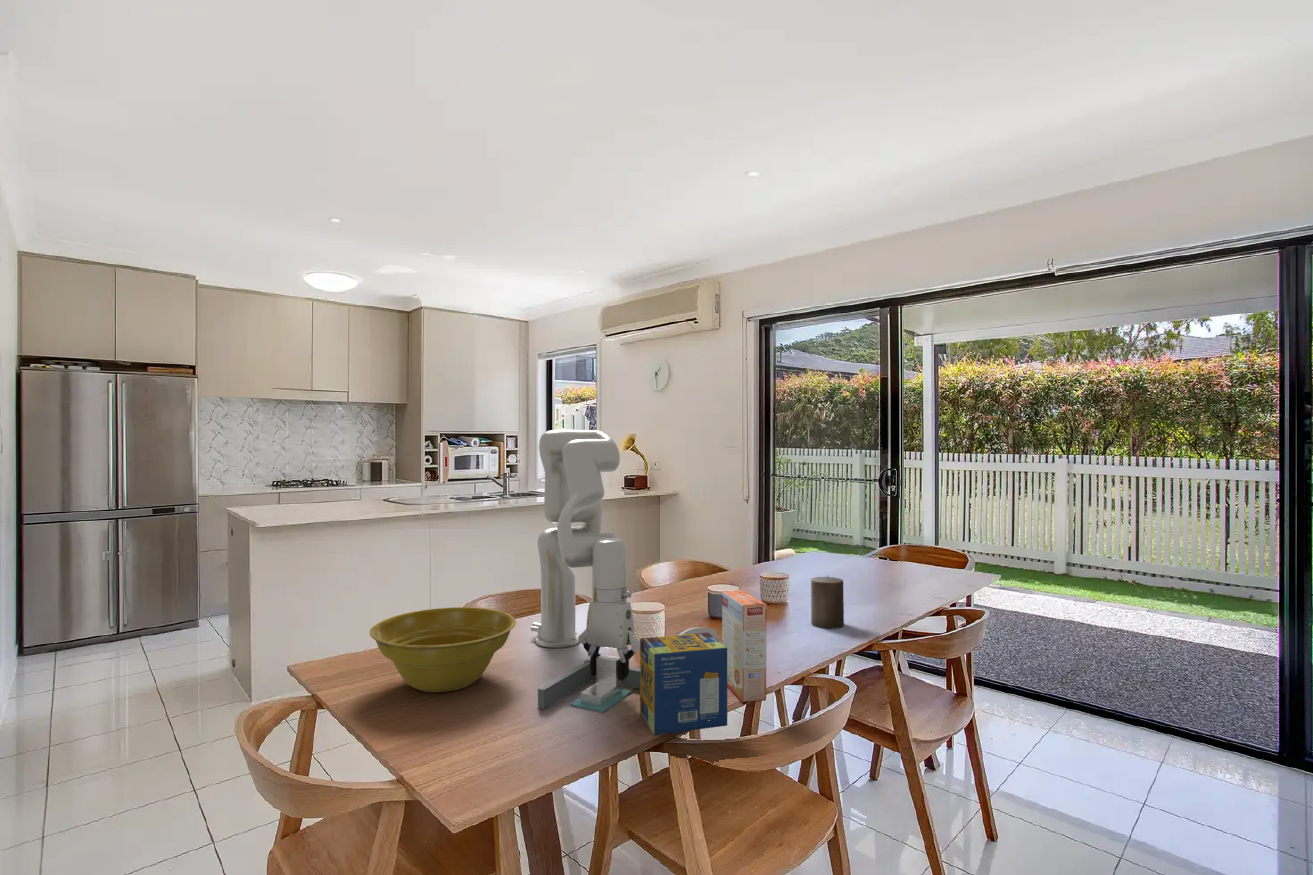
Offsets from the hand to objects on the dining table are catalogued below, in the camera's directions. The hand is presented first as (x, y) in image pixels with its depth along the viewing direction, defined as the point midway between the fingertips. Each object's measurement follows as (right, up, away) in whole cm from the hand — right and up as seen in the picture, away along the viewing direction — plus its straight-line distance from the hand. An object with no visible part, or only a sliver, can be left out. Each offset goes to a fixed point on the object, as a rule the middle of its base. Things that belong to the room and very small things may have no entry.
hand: (609, 675), depth 143 cm
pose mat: (-1, -4, -3) cm, 5 cm away
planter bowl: (-39, -4, +7) cm, 40 cm away
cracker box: (+30, -4, +2) cm, 30 cm away
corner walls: (-1, -4, -3) cm, 5 cm away
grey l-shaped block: (-2, -4, -3) cm, 5 cm away
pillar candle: (+62, -5, +55) cm, 83 cm away
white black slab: (+20, -5, +19) cm, 28 cm away
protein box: (+16, -4, -14) cm, 21 cm away
